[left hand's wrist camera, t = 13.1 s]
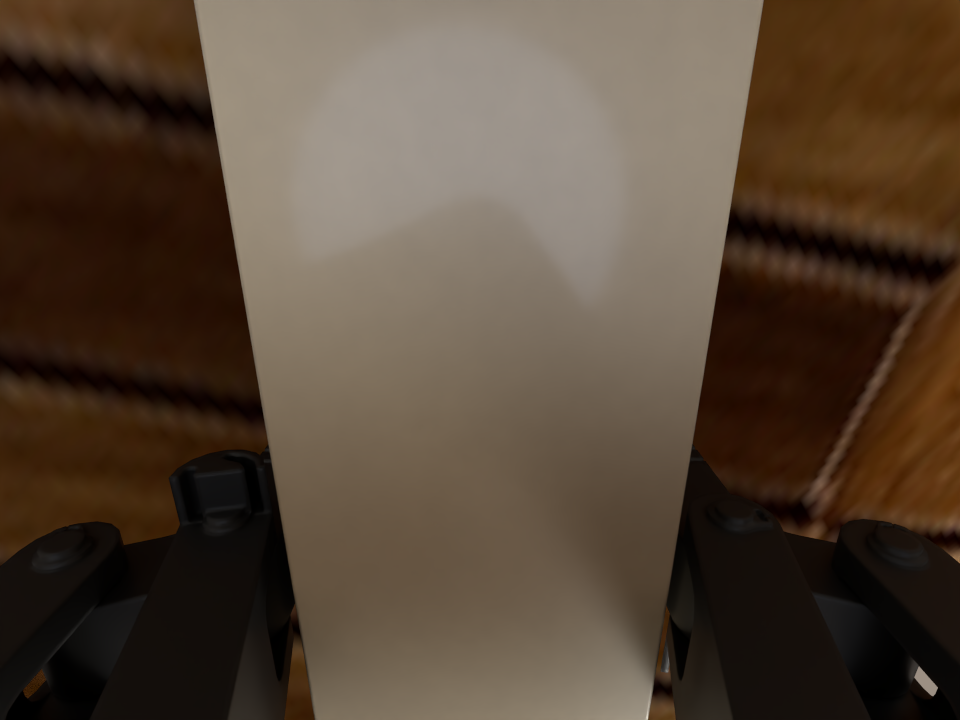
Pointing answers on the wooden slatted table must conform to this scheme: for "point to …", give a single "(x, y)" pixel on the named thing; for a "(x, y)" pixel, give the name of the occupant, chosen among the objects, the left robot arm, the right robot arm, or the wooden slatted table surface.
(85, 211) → the wooden slatted table surface
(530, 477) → the ash beam
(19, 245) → the wooden slatted table surface
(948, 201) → the wooden slatted table surface
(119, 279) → the wooden slatted table surface
